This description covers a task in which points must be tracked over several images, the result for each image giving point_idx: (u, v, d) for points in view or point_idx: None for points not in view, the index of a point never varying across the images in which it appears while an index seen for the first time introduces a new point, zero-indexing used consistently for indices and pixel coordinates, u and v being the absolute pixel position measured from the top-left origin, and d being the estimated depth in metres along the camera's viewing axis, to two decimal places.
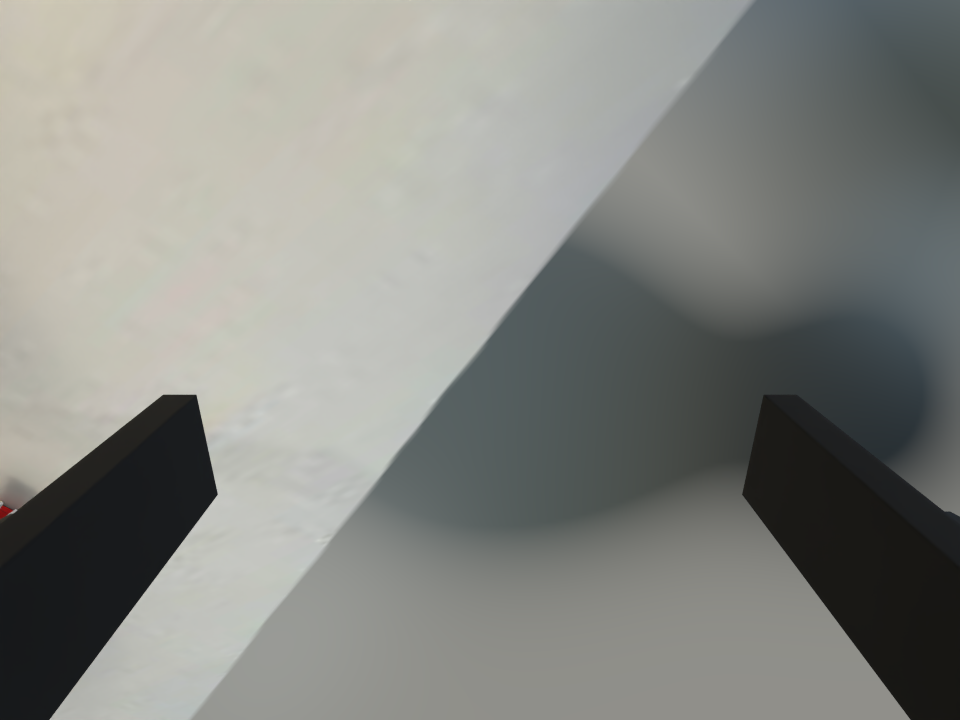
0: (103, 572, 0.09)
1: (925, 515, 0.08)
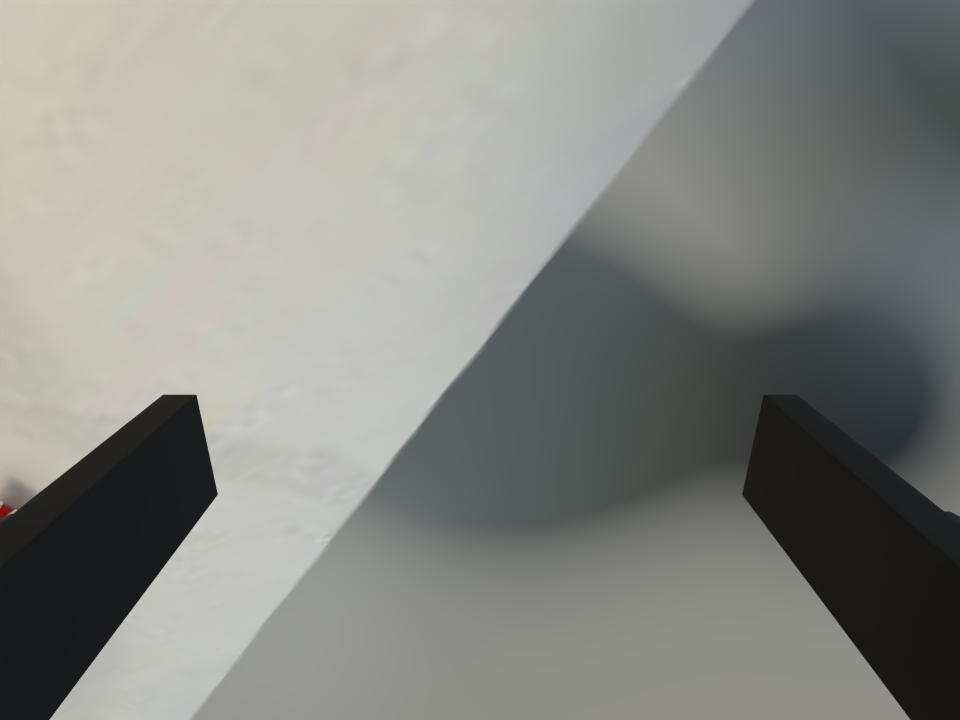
0: (103, 572, 0.09)
1: (925, 515, 0.08)
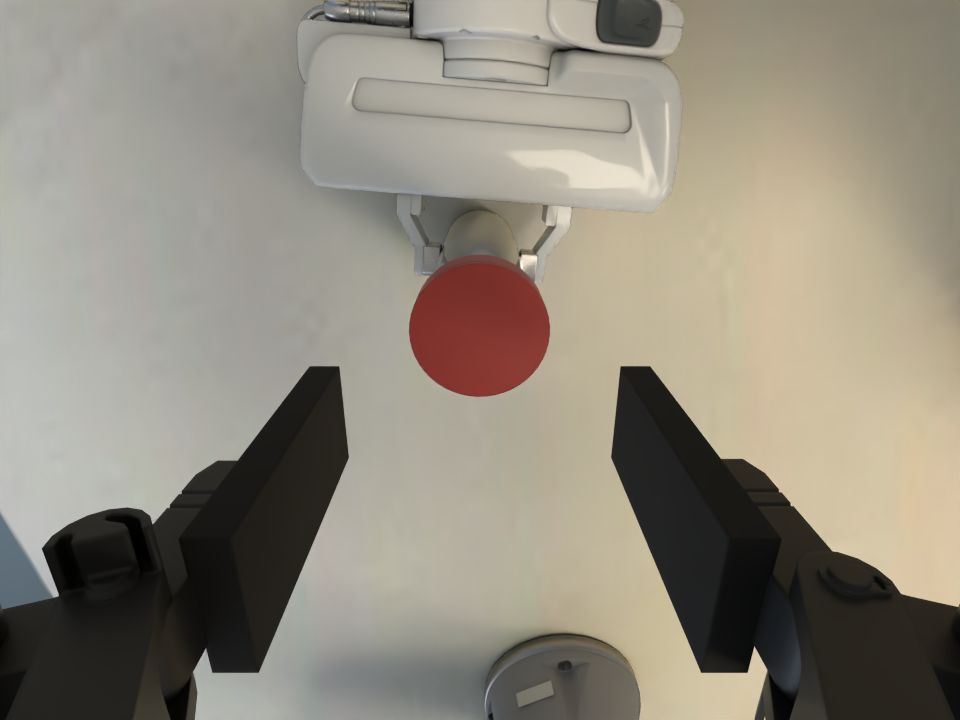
0: (299, 511, 0.11)
1: (699, 456, 0.10)
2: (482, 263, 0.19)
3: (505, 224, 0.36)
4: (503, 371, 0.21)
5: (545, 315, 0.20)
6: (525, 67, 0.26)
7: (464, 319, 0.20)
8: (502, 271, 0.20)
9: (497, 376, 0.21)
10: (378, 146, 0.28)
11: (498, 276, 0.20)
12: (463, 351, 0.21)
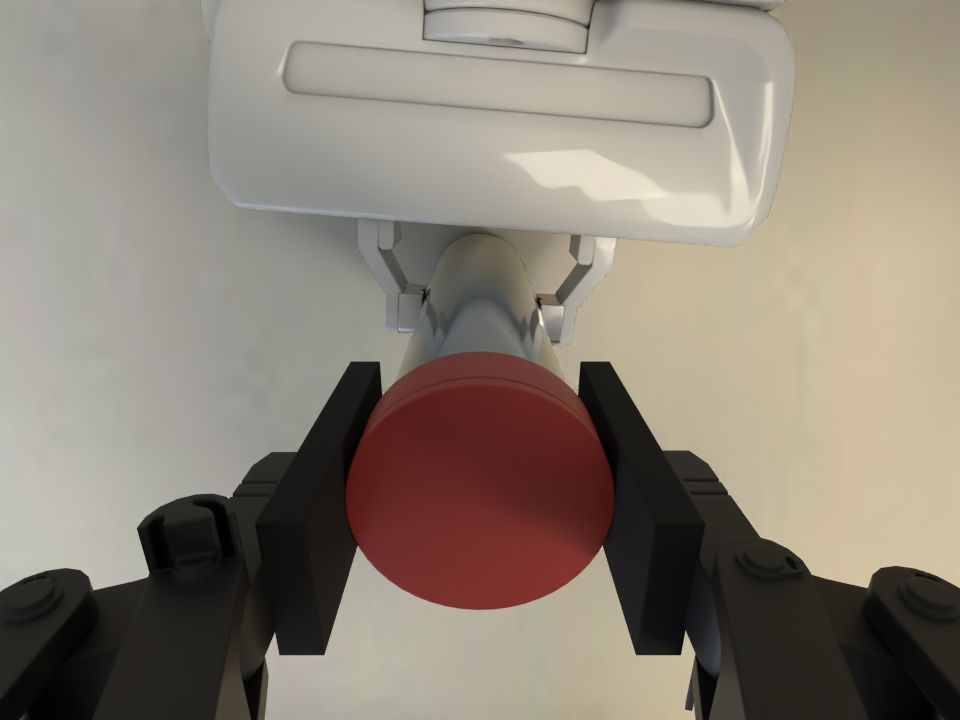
0: None
1: (640, 447, 0.10)
2: (486, 384, 0.10)
3: (515, 255, 0.26)
4: (524, 570, 0.11)
5: (608, 478, 0.10)
6: (553, 21, 0.16)
7: (451, 484, 0.10)
8: (526, 400, 0.10)
9: (513, 578, 0.11)
10: (325, 147, 0.19)
11: (518, 408, 0.10)
12: (449, 538, 0.11)
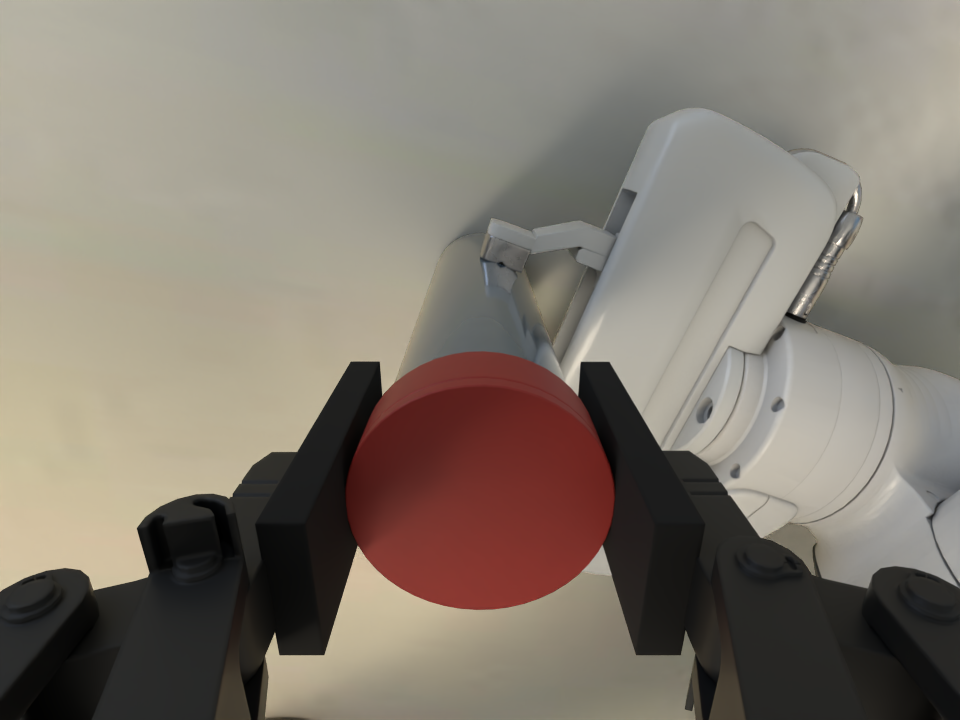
0: None
1: (640, 447, 0.10)
2: (487, 384, 0.10)
3: None
4: (524, 571, 0.11)
5: (608, 479, 0.10)
6: (703, 446, 0.22)
7: (451, 484, 0.10)
8: (527, 400, 0.10)
9: (513, 578, 0.11)
10: (689, 239, 0.20)
11: (518, 409, 0.10)
12: (449, 538, 0.11)
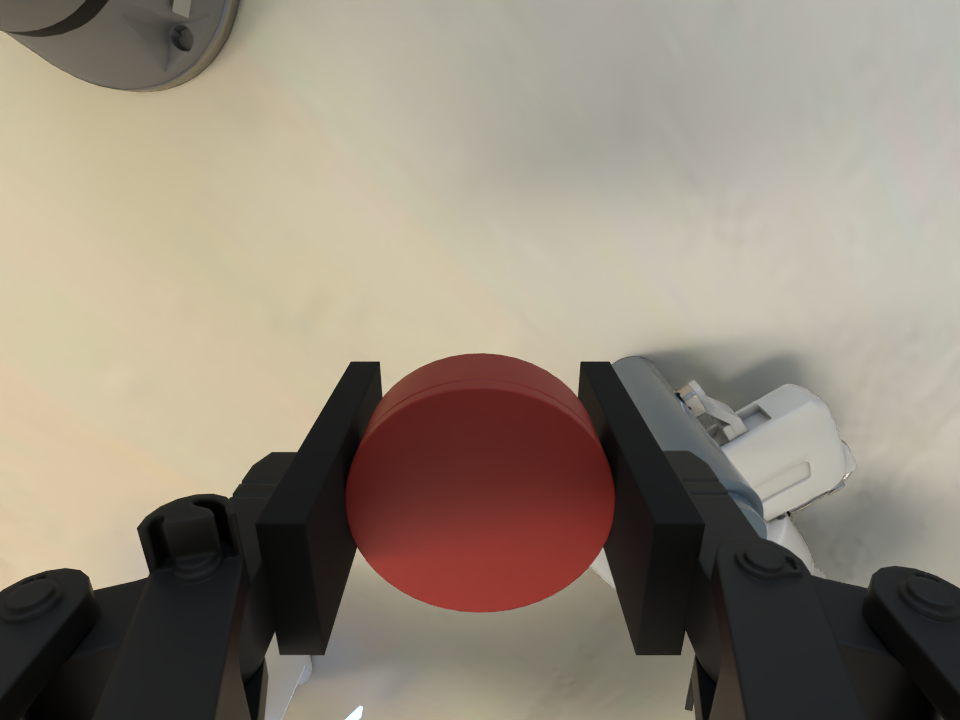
0: None
1: (640, 447, 0.10)
2: (486, 386, 0.10)
3: None
4: (525, 573, 0.11)
5: (609, 481, 0.10)
6: None
7: (451, 487, 0.10)
8: (526, 402, 0.10)
9: (513, 581, 0.11)
10: (779, 453, 0.37)
11: (518, 411, 0.10)
12: (449, 540, 0.11)
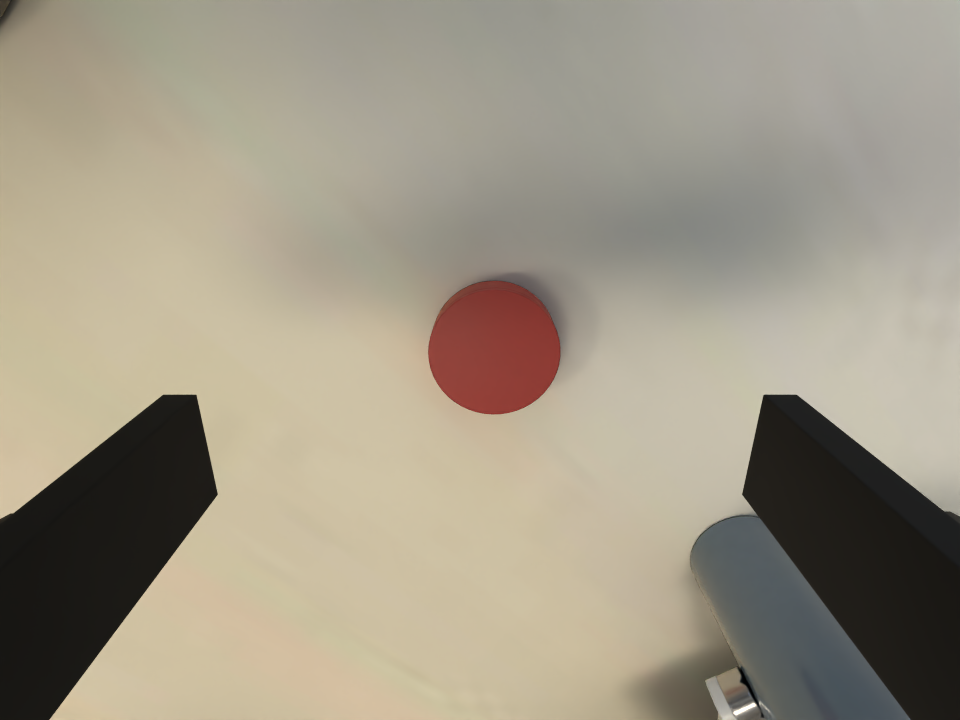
0: (104, 572, 0.09)
1: (925, 515, 0.08)
2: (497, 289, 0.21)
3: None
4: (516, 390, 0.22)
5: (556, 338, 0.21)
6: None
7: (480, 341, 0.22)
8: (516, 297, 0.21)
9: (510, 395, 0.22)
10: None
11: (512, 301, 0.21)
12: (479, 371, 0.22)
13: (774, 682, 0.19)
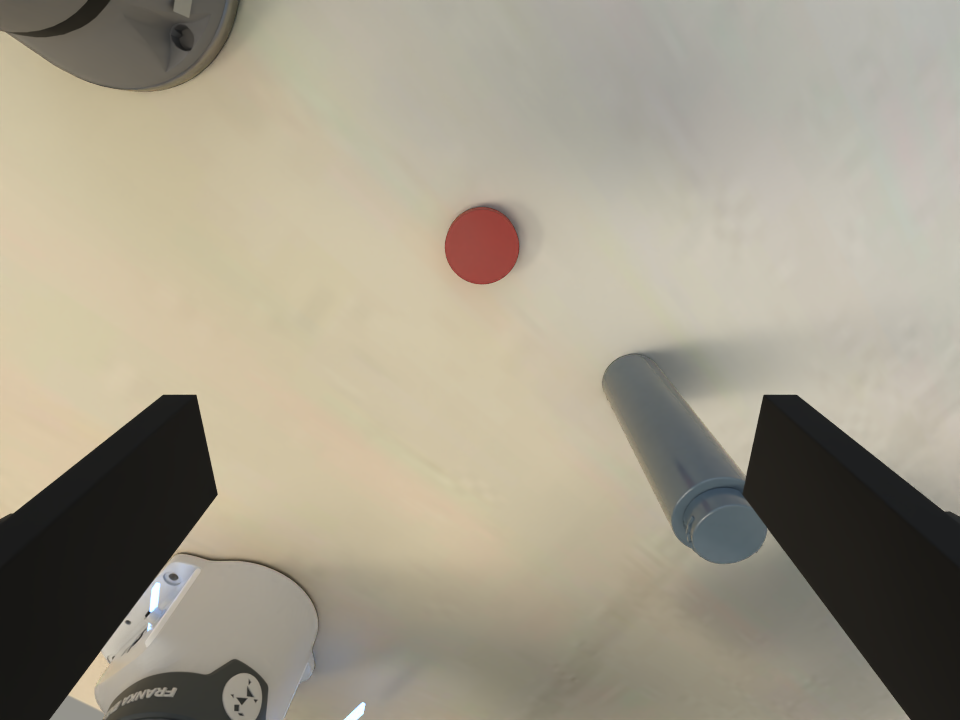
0: (103, 572, 0.09)
1: (925, 515, 0.08)
2: (483, 209, 0.38)
3: None
4: (494, 269, 0.39)
5: (516, 237, 0.38)
6: None
7: (474, 240, 0.39)
8: (493, 214, 0.38)
9: (491, 272, 0.39)
10: None
11: (491, 216, 0.38)
12: (473, 258, 0.39)
13: (629, 415, 0.37)
